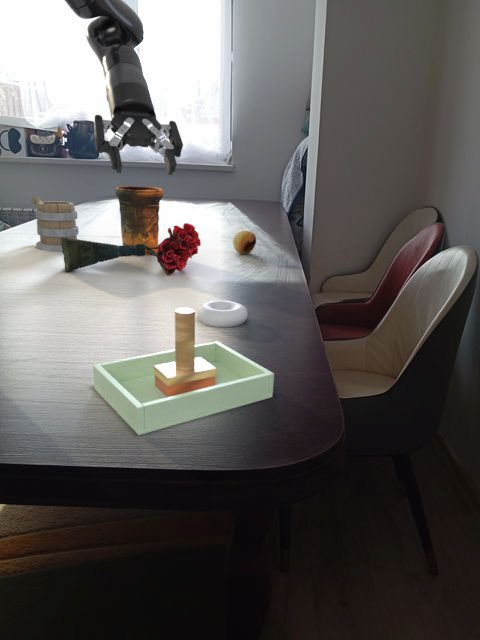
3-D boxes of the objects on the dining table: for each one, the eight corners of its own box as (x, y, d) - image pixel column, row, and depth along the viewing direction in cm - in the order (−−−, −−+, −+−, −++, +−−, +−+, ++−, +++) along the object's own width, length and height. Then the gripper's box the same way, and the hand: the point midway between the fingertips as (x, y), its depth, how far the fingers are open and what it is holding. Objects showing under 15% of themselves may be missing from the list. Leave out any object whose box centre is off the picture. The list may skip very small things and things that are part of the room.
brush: (167, 398, 67) (166, 318, 63) (153, 385, 71) (151, 308, 67) (216, 388, 71) (217, 311, 67) (200, 375, 75) (201, 302, 71)
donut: (251, 330, 98) (242, 313, 107) (252, 312, 97) (243, 297, 106) (199, 331, 96) (194, 314, 105) (199, 313, 95) (194, 298, 104)
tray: (138, 437, 59) (137, 408, 58) (94, 390, 70) (92, 364, 69) (272, 398, 71) (274, 373, 69) (216, 363, 81) (217, 340, 80)
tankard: (88, 248, 165) (84, 200, 160) (50, 252, 156) (45, 201, 151) (56, 240, 177) (52, 194, 172) (20, 243, 168) (14, 195, 163)
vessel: (148, 259, 155) (146, 190, 148) (108, 254, 159) (104, 186, 152) (172, 252, 167) (171, 188, 160) (134, 247, 172) (132, 185, 165)
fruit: (256, 253, 174) (257, 229, 171) (253, 257, 166) (255, 232, 163) (234, 251, 174) (235, 227, 171) (230, 256, 166) (231, 231, 164)
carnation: (69, 301, 136) (198, 288, 147) (63, 267, 119) (209, 256, 131) (62, 249, 140) (187, 241, 152) (55, 209, 124) (197, 203, 135)
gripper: (88, 75, 84) (102, 151, 79) (173, 84, 90) (192, 156, 84) (86, 112, 91) (99, 185, 85) (166, 118, 96) (183, 187, 91)
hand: (145, 170), depth 85 cm, fingers open, 8 cm apart
